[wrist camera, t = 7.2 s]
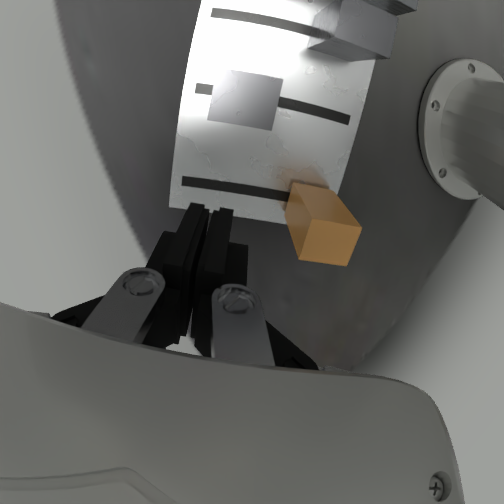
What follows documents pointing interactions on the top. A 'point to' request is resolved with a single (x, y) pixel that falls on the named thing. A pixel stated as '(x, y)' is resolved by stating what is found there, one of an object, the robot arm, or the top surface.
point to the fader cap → (320, 225)
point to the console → (275, 99)
